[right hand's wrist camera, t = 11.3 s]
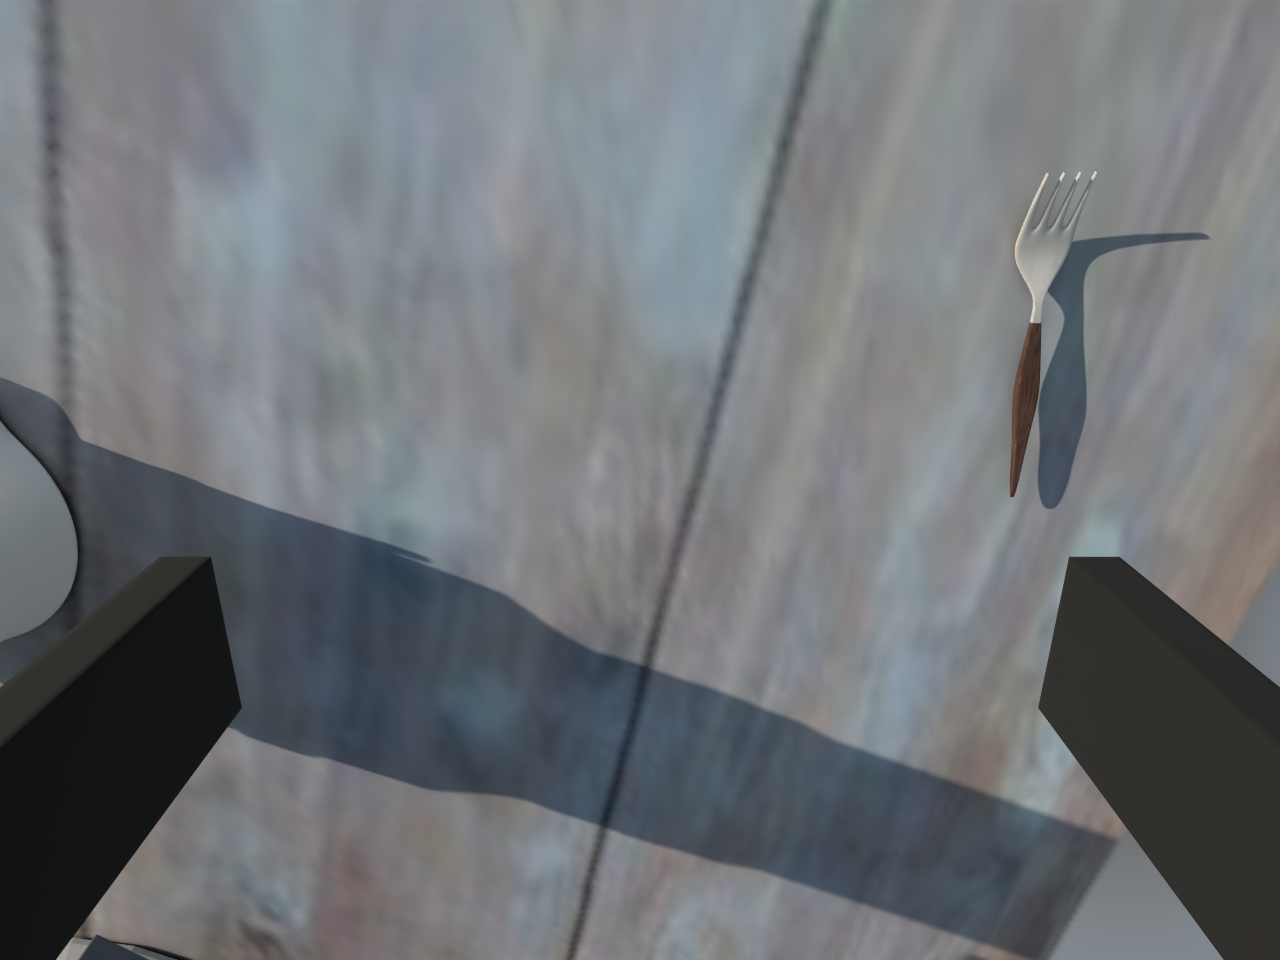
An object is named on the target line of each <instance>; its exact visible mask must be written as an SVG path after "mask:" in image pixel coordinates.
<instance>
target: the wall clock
mask: <svg viewBox="0 0 1280 960" xmlns="http://www.w3.org/2000/svg"><path fill="white" fill-rule="evenodd" d="M91 941H92V940H87V939H79V938H72V939H71V940H70V942H69V943H68V944H67V946H66V947H65V948H64V950H63V951H62V952H61V954H60V955H59V957H58V958H57V959H56V960H78V959H79V957H80V956H81V954H82V953H83V952H84V950H85V949H86V947H87V946H88V945H89V943H90V942H91ZM118 945H120V946H122V947H124V948H126V949H128V950H130V951H132V952H134V953H137V954H139V955H141V956H143V957H145V958H147V959H149V960H176V959H173V958H170V957H167V956H164V955H161V954H158V953H155V952H152V951H148V950H145V949H142V948H139V947H136V946H131V945H124V944H118Z"/></svg>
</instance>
